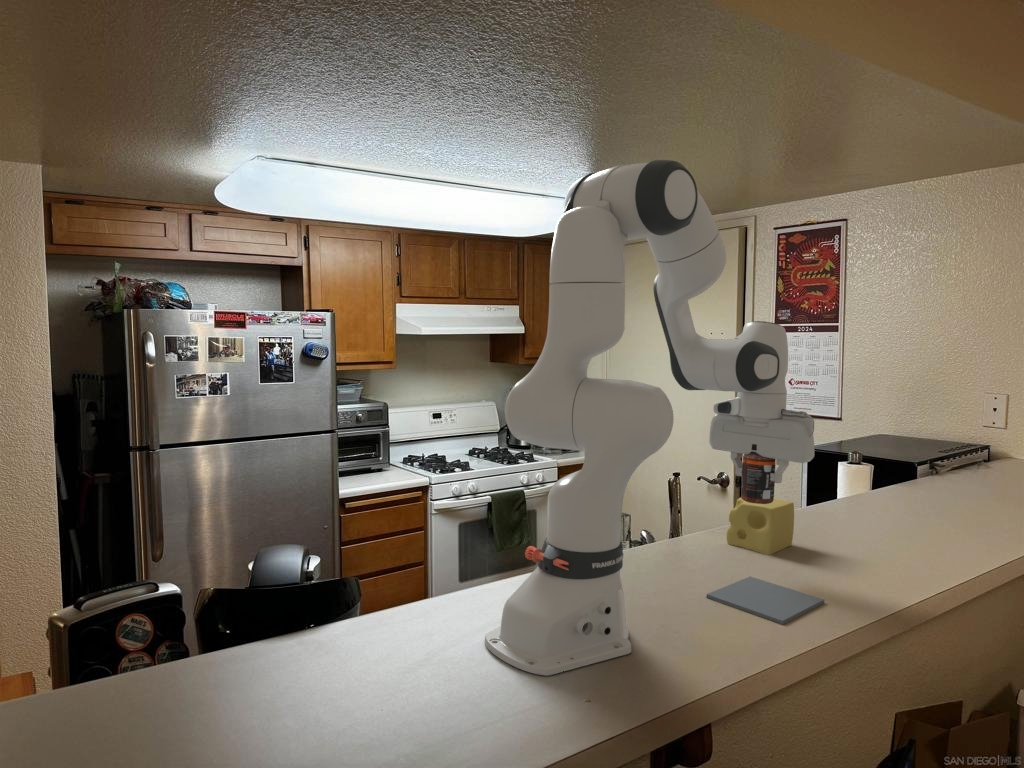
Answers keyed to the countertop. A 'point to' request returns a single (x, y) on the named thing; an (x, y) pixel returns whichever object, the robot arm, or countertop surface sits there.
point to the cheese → (761, 526)
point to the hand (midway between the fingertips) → (758, 479)
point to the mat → (766, 599)
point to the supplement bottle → (757, 478)
